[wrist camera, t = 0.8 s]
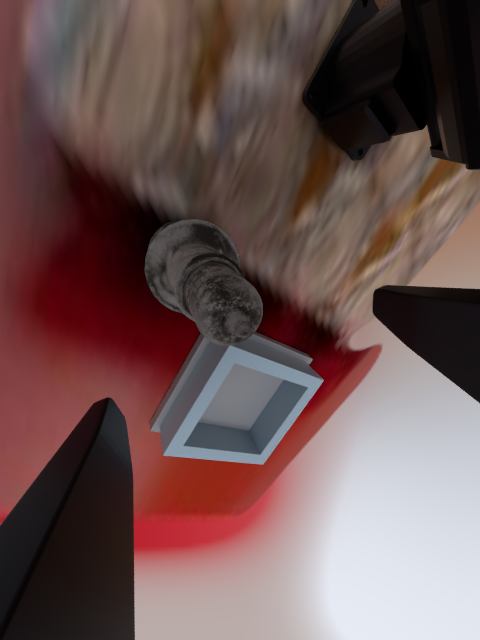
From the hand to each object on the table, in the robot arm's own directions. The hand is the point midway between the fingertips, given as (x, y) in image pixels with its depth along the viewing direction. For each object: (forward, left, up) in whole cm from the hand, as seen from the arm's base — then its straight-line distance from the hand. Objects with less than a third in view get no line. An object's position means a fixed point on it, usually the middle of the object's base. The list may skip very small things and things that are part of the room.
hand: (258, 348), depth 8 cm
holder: (+9, +10, -13) cm, 18 cm away
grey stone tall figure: (0, 0, -13) cm, 13 cm away
